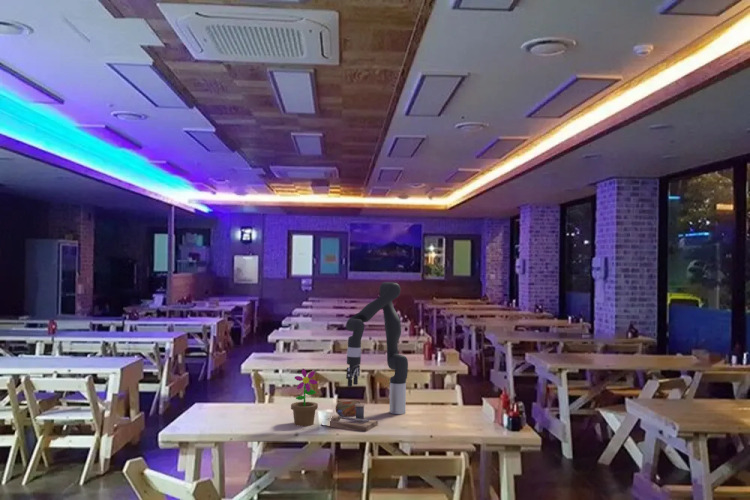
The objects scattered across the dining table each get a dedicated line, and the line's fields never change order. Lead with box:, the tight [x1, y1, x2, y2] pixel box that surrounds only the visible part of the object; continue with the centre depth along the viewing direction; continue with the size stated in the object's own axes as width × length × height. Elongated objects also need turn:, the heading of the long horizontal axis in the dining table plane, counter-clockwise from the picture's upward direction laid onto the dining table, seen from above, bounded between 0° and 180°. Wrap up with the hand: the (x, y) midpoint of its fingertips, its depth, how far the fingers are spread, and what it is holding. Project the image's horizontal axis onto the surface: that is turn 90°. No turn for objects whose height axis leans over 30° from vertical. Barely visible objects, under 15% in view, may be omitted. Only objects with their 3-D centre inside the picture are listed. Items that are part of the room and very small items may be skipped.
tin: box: [335, 399, 361, 417], centre depth 369 cm, size 15×3×8 cm, turn 112°
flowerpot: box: [290, 368, 319, 427], centre depth 349 cm, size 14×14×30 cm
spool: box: [355, 402, 366, 423], centre depth 357 cm, size 5×5×9 cm
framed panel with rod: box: [330, 414, 379, 432], centre depth 347 cm, size 14×26×2 cm, turn 65°
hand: (352, 385), depth 356 cm, fingers open, 8 cm apart
